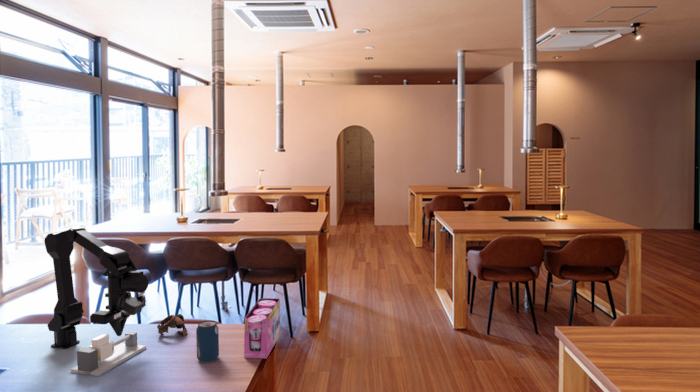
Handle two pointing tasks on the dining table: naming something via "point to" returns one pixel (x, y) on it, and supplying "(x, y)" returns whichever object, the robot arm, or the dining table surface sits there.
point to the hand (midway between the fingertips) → (119, 335)
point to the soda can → (207, 341)
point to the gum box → (262, 328)
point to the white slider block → (102, 346)
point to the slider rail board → (121, 352)
